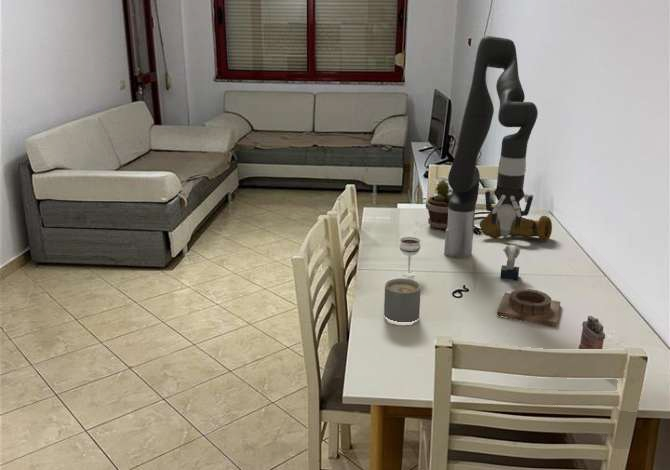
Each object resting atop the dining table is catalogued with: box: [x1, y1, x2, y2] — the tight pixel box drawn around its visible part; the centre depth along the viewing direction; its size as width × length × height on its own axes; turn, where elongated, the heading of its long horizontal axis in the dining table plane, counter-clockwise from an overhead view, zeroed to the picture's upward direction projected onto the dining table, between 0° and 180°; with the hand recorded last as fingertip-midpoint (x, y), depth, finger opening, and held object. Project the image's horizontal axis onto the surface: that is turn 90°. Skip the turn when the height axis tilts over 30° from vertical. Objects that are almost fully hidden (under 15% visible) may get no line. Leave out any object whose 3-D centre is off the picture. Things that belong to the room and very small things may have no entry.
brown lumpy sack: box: [578, 315, 606, 350], centre depth 147 cm, size 8×3×10 cm, turn 5°
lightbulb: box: [497, 204, 517, 238], centre depth 177 cm, size 6×6×11 cm
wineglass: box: [399, 236, 421, 273], centre depth 196 cm, size 7×7×12 cm
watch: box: [499, 244, 521, 282], centre depth 193 cm, size 6×8×11 cm
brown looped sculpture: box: [479, 212, 553, 242], centre depth 230 cm, size 18×13×22 cm
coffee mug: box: [383, 277, 422, 322], centre depth 168 cm, size 13×10×10 cm
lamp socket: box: [496, 288, 561, 328], centre depth 171 cm, size 16×14×4 cm
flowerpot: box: [425, 177, 452, 231], centre depth 241 cm, size 14×15×20 cm
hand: (505, 226), depth 178 cm, fingers closed on lightbulb, 5 cm apart
